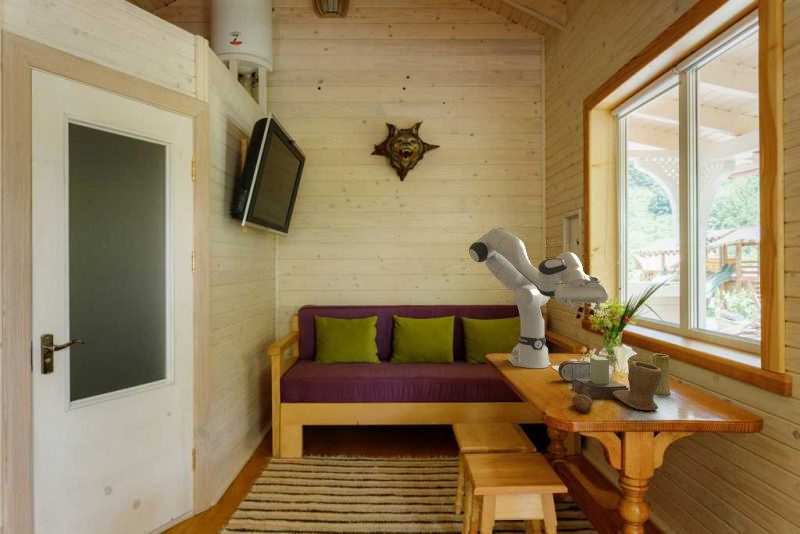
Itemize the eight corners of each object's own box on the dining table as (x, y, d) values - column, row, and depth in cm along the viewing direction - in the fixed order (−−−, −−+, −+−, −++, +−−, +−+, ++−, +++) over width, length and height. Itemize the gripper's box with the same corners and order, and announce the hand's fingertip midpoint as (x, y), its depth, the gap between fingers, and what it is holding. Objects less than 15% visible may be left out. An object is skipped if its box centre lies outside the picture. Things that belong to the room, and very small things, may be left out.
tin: (594, 381, 181) (595, 360, 181) (597, 383, 178) (597, 362, 178) (557, 380, 182) (557, 360, 182) (559, 382, 179) (559, 361, 179)
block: (590, 380, 166) (590, 357, 166) (603, 380, 166) (603, 357, 166) (595, 383, 161) (595, 359, 161) (609, 383, 161) (609, 359, 161)
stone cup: (669, 413, 141) (669, 367, 141) (632, 412, 142) (632, 367, 141) (644, 399, 156) (644, 357, 156) (611, 398, 157) (611, 357, 157)
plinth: (572, 388, 170) (572, 378, 170) (604, 386, 172) (604, 376, 172) (593, 399, 156) (593, 388, 156) (628, 397, 158) (628, 386, 158)
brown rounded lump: (571, 401, 154) (571, 387, 154) (591, 403, 152) (591, 389, 152) (572, 413, 142) (572, 398, 142) (594, 416, 139) (594, 400, 139)
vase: (657, 389, 168) (658, 352, 168) (673, 393, 162) (674, 355, 162) (647, 391, 165) (648, 354, 165) (663, 395, 160) (663, 357, 160)
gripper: (553, 278, 176) (561, 304, 167) (603, 278, 176) (614, 304, 166) (549, 288, 181) (557, 314, 171) (598, 288, 181) (609, 314, 171)
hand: (586, 309), depth 169 cm, fingers open, 8 cm apart
